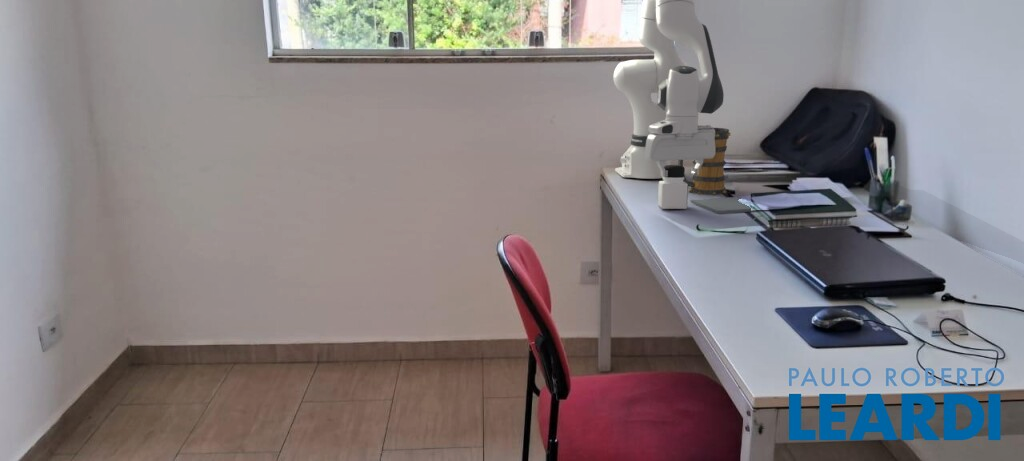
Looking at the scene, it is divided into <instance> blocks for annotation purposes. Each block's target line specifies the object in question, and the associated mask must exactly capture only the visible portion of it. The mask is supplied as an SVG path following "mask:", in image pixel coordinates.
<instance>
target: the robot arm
mask: <svg viewBox="0 0 1024 461" xmlns="http://www.w3.org/2000/svg"><path fill="white" fill-rule="evenodd" d="M640 10H641V11H640V21H639V31H638V40H639V42H640V44H641V46H643V47H645V48H646V49H648V50H650V51H652V52H653V54H654V56H653V57H654V58H652V59H648V58H647V59H631V60H630V59H629V60H624V61H621V62H619V63H618V64H617V65H616V67H615V68H614V72H613V76H612V78H613V79H612V80H613V83H614V86H615V88H616V89H617V90H618V91H619V92H621V93H622V94H623V95H624V96H625V97H626V99H627V100H628V102H629V103H630V107H631V109H632V114H633V115H632V118H633V134H632V135H631V138H630V146H629V147H628V148H627V150H626V151H625V152H624V153H623V154H622V156H620V158H619V162H620V163H621V166H620V167H615V170H614V171H615V172H616V173H618V175H620V176H621V177H623V178H633V179H634V178H635V179H649V180H651V179H652V180H654V179H663V177H666V176H668V174H667V173H668V170H665V168H664V166H666V165H672V161H678V160H683V161H685V160H688V161H689V160H695V162H697V163H696V165H694V167H691V170H690V171H691V175H692V176H693V175H699V169H700V167H701V166H702V164H703V159H710V158H713V157H714V156H715V139H714V138H715V130H714V128H715V127H712V126H711V125H708V124H707V125H699V113H700V114H710V115H711V114H713V113H715V112H716V111H717V110H719V109H720V107H722V105H723V103H724V98H725V97H724V96H725V94H724V88H723V84H722V82H721V78H720V75H719V71H718V66H717V63H716V62H717V61H716V59H715V54H714V53H715V52H714V49H713V44H712V40H711V36H710V33H709V30H708V28H707V26H706V25H705V24H704V23H702V22H701V21H700V20H699V18H698V16H697V14H696V10H695V0H643V1H642V5H641V9H640ZM675 42H676V43H679V44H682V45H684V46H686V47H689V48H690V49H692V50H693V51H694V52H695V54H696V56H697V61H698V65H699V69H700V74H701V77H700V76H699V71H698V69H697V68H696V67H693V66H689V65H688V64H687V62H686V61H685V60H683V59H682V57H681V56H680V55H679V54H678V53H679V52H677V48H676V47H675ZM652 94H657V102H654V101H653V99H652V96H651V95H652ZM711 128H712V129H711ZM702 129H703V130H702Z"/></svg>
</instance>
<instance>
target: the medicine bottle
mask: <svg viewBox="0 0 1024 461" xmlns="http://www.w3.org/2000/svg"><path fill="white" fill-rule="evenodd" d="M664 168H665V170H668V173H667V174H668V176H666V177H663V178H662V180H660V181H658V190H657V191H658V195H657V196H658V198H657V206H658V207H660V208H661V209H662V210H669V209H670V210H686V209H688V197H689V196H688V194H689V186H688V184H687V183H685V182H683V180H684V174H685V169H686V168H685V166H684V165H683V166H681V165H678V164H671V165H666V166H664Z"/></svg>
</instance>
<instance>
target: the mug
mask: <svg viewBox="0 0 1024 461" xmlns="http://www.w3.org/2000/svg"><path fill="white" fill-rule="evenodd" d="M713 128H714V130H715V138H714V139H715V156H714V157H713V158H710V159H703V164H702V166H701V167H700V169H699V175H692V181H691V180H690V181H689V180H687V177H686V174H685V173H684V180H683V182H685V183H687V184H688V193H689V192H690V193H694V194H697V195H712V196H713V195H714V196H715V195H720V194H722V195H724V194H727V193H726V192H727V190H726V189H727V188H726V187H725V181H726V176H725V174H724V172H725V171H724V169H725V167H724V166H726V165H727V162H726V160H725V157H726V156H725V155H726V154H725V153H726V152H727V148H728V146H727V141H728V139H729V137H730V136H731V135H732V133H731V132H730V129H728V128H723V127H722V128H721V127H713ZM711 129H712V128H711ZM702 130H703V129H702ZM677 161H678V162H677V165H681V166H683V167H684V160H677ZM696 163H697V162H695V159H693V161H692V164H693V165H694V166H695V165H696Z"/></svg>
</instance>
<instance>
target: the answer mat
mask: <svg viewBox="0 0 1024 461" xmlns="http://www.w3.org/2000/svg"><path fill="white" fill-rule="evenodd" d="M741 198H742V197H741V196H734V197H718V198H717V197H716V198H703V199H702V198H701V199H690V204H693V205H695V206H697V207H699V208H702V209H705V210H707V211H709V212H712V213H715V214H717V215H718V214H719V215H721V214H722V215H723V214H734V213H737V214H738V213H750V212H752V211H751V208H750V207H749V206H747V205H745V204H742V203H740V202H739V201H738V200H739V199H741Z"/></svg>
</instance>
